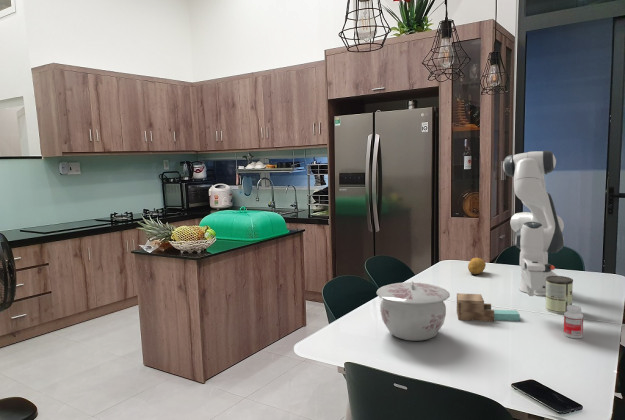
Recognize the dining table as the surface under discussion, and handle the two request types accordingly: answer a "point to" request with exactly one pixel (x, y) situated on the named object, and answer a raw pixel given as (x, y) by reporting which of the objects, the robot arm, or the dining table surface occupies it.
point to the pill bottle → (573, 322)
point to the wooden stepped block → (473, 308)
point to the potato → (476, 265)
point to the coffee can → (558, 293)
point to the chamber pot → (413, 309)
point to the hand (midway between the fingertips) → (530, 295)
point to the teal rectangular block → (506, 315)
